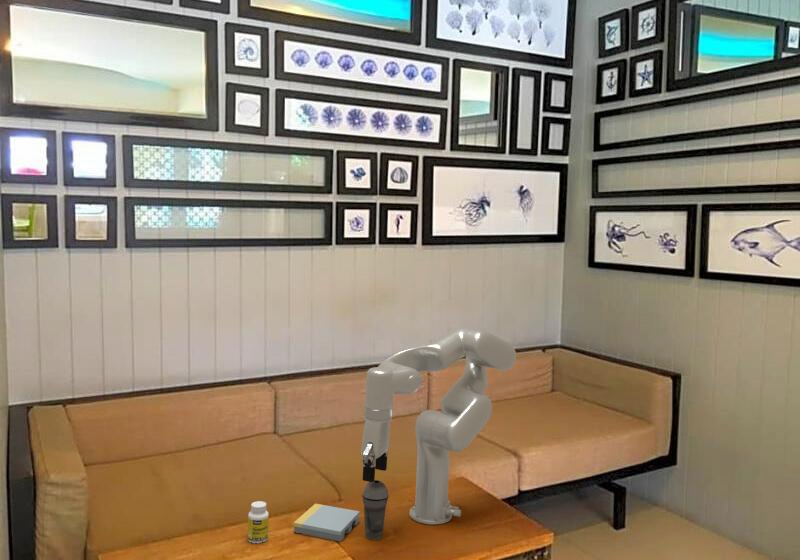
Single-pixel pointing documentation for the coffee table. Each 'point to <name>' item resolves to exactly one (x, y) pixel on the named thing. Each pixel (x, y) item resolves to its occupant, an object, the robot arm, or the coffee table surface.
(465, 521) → the coffee table surface
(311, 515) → the plate
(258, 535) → the supplement bottle
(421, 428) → the robot arm
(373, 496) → the beverage cup
